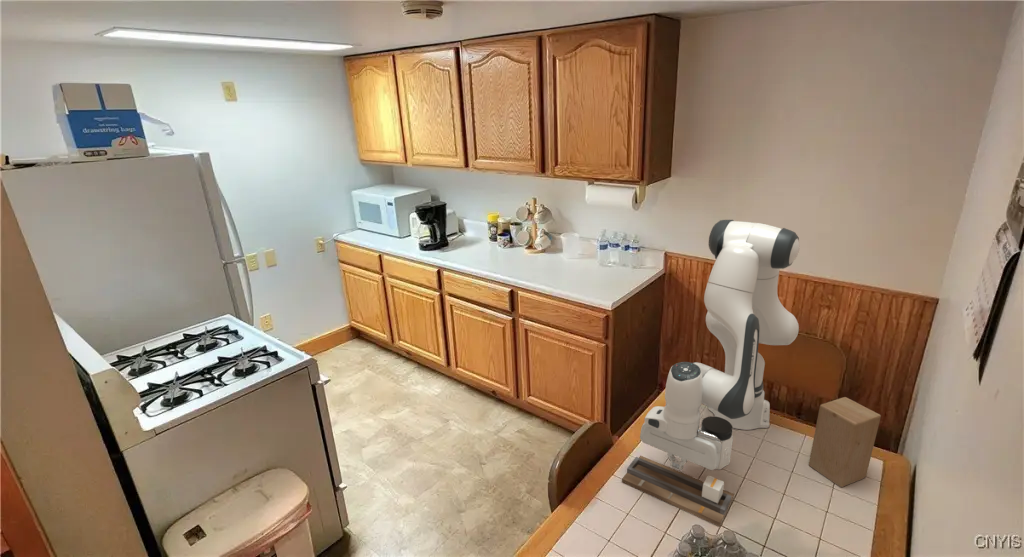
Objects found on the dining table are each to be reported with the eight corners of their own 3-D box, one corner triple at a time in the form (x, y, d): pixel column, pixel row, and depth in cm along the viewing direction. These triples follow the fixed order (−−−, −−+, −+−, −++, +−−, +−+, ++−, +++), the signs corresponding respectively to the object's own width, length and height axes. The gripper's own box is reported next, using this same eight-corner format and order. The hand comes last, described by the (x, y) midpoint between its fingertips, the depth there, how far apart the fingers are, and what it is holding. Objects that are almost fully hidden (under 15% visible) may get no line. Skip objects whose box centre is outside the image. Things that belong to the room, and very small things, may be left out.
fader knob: (706, 492, 130) (708, 474, 129) (721, 498, 128) (724, 481, 126) (701, 501, 127) (703, 483, 126) (717, 508, 125) (719, 490, 123)
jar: (715, 473, 139) (720, 437, 135) (691, 458, 145) (694, 422, 142) (734, 461, 144) (739, 425, 140) (710, 446, 150) (714, 412, 146)
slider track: (640, 458, 146) (640, 451, 145) (733, 497, 130) (734, 489, 129) (621, 482, 137) (622, 474, 136) (719, 526, 121) (721, 517, 120)
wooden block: (841, 488, 132) (855, 424, 126) (807, 465, 141) (819, 404, 135) (866, 477, 136) (882, 414, 130) (832, 455, 145) (845, 395, 138)
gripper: (726, 431, 124) (721, 476, 128) (648, 404, 136) (646, 446, 141) (718, 445, 119) (713, 491, 124) (638, 415, 131) (636, 458, 136)
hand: (676, 467), depth 132 cm, fingers closed
